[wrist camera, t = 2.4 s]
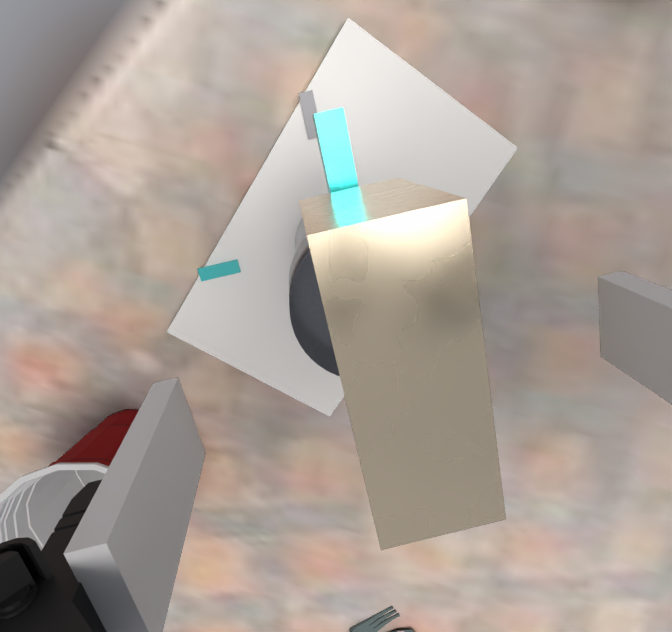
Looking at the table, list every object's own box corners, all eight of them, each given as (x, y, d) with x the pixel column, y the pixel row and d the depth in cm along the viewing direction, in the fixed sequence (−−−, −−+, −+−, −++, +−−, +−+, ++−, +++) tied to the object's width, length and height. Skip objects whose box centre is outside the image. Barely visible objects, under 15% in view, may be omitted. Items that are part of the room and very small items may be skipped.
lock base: (508, 147, 36) (611, 149, 25) (328, 407, 41) (344, 507, 30) (341, 20, 32) (371, -47, 21) (167, 322, 38) (116, 399, 26)
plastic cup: (216, 391, 40) (189, 490, 29) (191, 502, 43) (158, 631, 32) (72, 363, 38) (-18, 456, 27) (57, 481, 41) (-29, 609, 30)
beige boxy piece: (440, 355, 27) (552, 507, 16) (313, 385, 27) (333, 561, 16) (399, 96, 23) (514, 49, 11) (247, 131, 22) (209, 119, 11)
